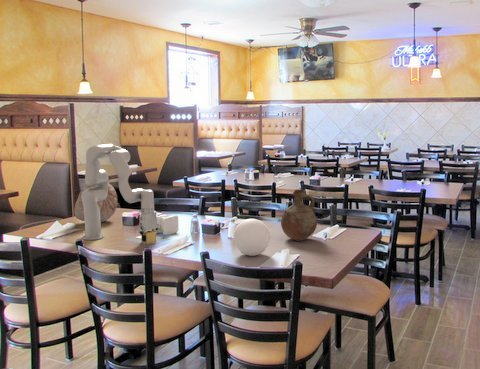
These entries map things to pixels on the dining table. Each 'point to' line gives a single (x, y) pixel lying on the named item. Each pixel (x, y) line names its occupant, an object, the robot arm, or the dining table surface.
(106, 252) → the dining table surface
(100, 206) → the fossil
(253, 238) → the sphere
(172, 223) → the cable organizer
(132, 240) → the board
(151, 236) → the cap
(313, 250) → the dining table surface
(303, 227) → the jug
